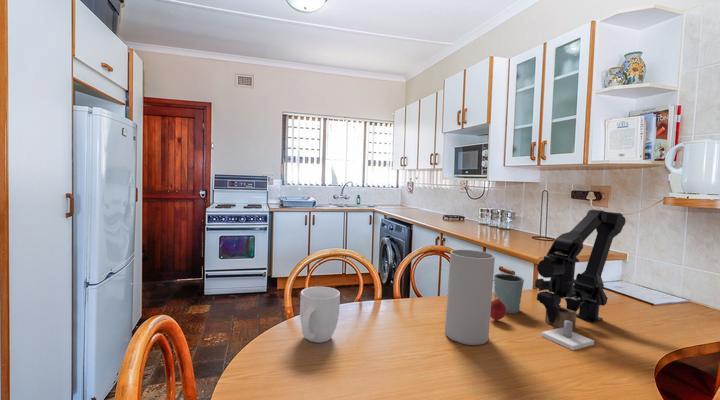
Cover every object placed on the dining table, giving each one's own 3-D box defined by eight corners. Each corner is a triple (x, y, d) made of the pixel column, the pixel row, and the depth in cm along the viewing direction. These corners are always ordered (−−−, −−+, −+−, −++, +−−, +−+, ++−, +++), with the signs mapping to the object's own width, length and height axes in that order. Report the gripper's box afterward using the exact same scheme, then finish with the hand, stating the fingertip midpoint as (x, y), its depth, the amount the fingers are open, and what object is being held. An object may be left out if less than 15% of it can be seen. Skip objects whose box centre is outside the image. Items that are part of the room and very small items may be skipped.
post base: (561, 331, 117) (563, 313, 117) (593, 344, 108) (595, 325, 108) (541, 335, 113) (542, 317, 112) (572, 350, 104) (574, 330, 103)
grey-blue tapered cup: (523, 308, 137) (525, 277, 136) (518, 316, 128) (521, 282, 128) (495, 302, 142) (497, 272, 142) (488, 309, 134) (491, 277, 133)
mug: (323, 356, 93) (325, 305, 92) (284, 348, 96) (286, 299, 95) (343, 333, 107) (345, 289, 106) (309, 327, 110) (311, 284, 109)
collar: (557, 319, 127) (558, 305, 127) (575, 326, 122) (576, 311, 121) (545, 322, 124) (546, 307, 124) (562, 329, 119) (564, 314, 118)
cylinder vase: (458, 324, 118) (463, 248, 116) (495, 338, 109) (502, 255, 108) (436, 335, 109) (442, 252, 108) (475, 350, 100) (481, 260, 99)
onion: (506, 325, 120) (508, 301, 119) (488, 323, 121) (490, 299, 120) (503, 318, 125) (505, 295, 125) (485, 316, 127) (487, 293, 126)
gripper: (559, 267, 133) (555, 309, 134) (524, 271, 125) (520, 316, 126) (590, 275, 124) (586, 320, 125) (554, 280, 115) (550, 328, 116)
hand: (560, 321), depth 123 cm, fingers open, 9 cm apart
